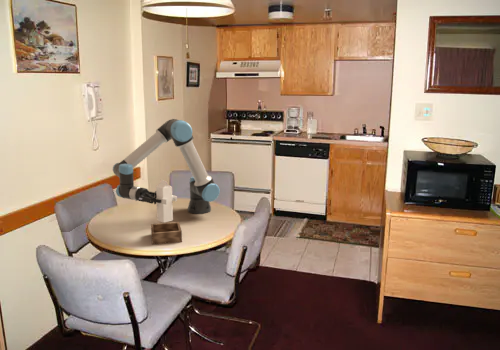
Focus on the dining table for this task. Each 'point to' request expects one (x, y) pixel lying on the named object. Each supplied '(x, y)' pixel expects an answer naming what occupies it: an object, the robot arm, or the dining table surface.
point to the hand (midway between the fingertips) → (171, 200)
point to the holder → (166, 233)
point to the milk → (164, 210)
